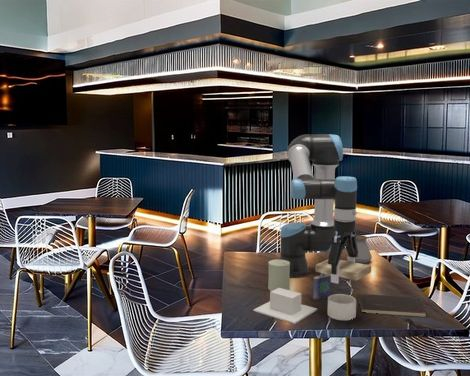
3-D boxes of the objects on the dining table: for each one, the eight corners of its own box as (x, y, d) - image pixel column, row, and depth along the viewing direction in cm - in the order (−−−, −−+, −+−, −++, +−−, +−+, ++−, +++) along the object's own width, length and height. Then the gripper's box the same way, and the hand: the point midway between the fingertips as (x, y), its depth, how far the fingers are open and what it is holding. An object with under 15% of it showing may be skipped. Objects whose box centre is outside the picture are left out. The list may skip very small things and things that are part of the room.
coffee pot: (368, 258, 245) (369, 230, 243) (374, 265, 234) (375, 235, 231) (327, 257, 246) (328, 229, 244) (330, 264, 234) (331, 235, 232)
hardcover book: (426, 318, 172) (426, 312, 171) (361, 314, 175) (361, 308, 175) (416, 302, 187) (417, 296, 187) (357, 298, 191) (357, 293, 191)
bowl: (322, 315, 173) (323, 299, 172) (335, 307, 181) (335, 292, 180) (347, 322, 167) (348, 306, 166) (359, 313, 174) (360, 298, 174)
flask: (315, 300, 187) (316, 274, 186) (310, 298, 190) (311, 272, 188) (333, 296, 192) (333, 270, 190) (328, 294, 194) (328, 268, 193)
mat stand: (253, 311, 177) (253, 293, 176) (277, 298, 189) (277, 282, 188) (294, 324, 165) (294, 305, 164) (317, 310, 178) (317, 292, 177)
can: (283, 294, 194) (284, 266, 192) (264, 289, 199) (264, 262, 197) (293, 287, 202) (293, 260, 200) (274, 283, 207) (274, 257, 205)
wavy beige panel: (315, 271, 171) (315, 264, 171) (331, 264, 181) (331, 257, 180) (356, 280, 161) (356, 273, 161) (370, 272, 171) (371, 265, 170)
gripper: (338, 226, 157) (336, 289, 160) (368, 216, 176) (366, 272, 178) (318, 223, 162) (317, 284, 164) (350, 213, 180) (348, 268, 183)
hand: (342, 278), depth 171 cm, fingers closed on wavy beige panel, 12 cm apart
